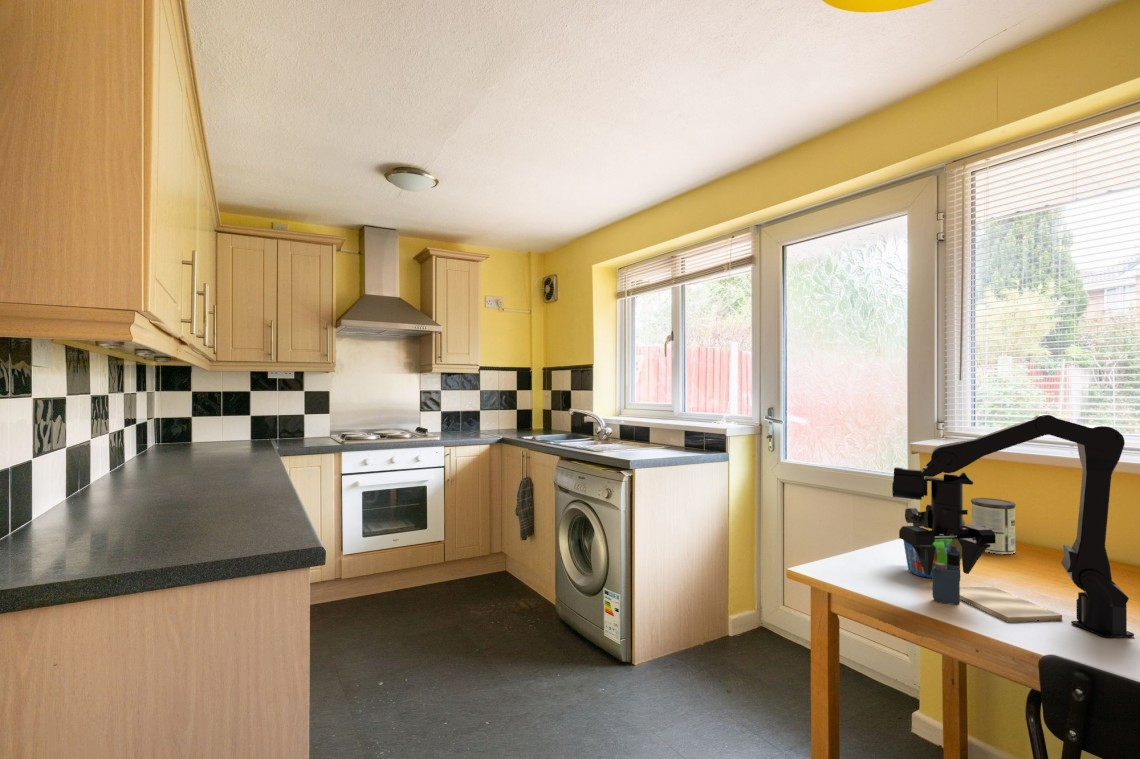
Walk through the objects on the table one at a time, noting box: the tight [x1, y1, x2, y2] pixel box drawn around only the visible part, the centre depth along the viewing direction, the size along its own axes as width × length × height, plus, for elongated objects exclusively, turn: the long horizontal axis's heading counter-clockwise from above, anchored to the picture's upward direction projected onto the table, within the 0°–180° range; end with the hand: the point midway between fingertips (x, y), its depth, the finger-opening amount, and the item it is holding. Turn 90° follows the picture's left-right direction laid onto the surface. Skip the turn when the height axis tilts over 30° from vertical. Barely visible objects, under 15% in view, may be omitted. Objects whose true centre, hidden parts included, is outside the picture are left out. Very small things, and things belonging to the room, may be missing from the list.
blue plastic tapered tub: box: [902, 534, 952, 579], centre depth 138 cm, size 16×10×10 cm
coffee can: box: [970, 497, 1017, 555], centre depth 160 cm, size 10×10×14 cm
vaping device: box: [932, 546, 961, 605], centre depth 120 cm, size 3×5×12 cm, turn 78°
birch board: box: [960, 586, 1063, 623], centre depth 118 cm, size 16×12×1 cm
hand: (946, 574), depth 120 cm, fingers open, 9 cm apart
